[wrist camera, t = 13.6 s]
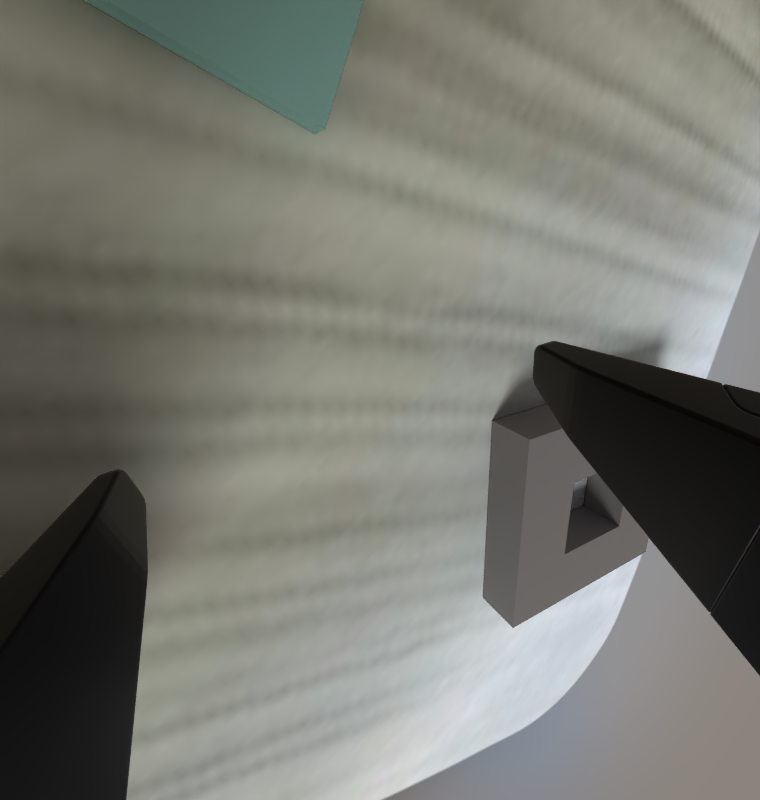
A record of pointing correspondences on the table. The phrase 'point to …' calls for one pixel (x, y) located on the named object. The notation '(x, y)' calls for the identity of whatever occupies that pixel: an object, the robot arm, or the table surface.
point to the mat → (256, 45)
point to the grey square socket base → (547, 519)
